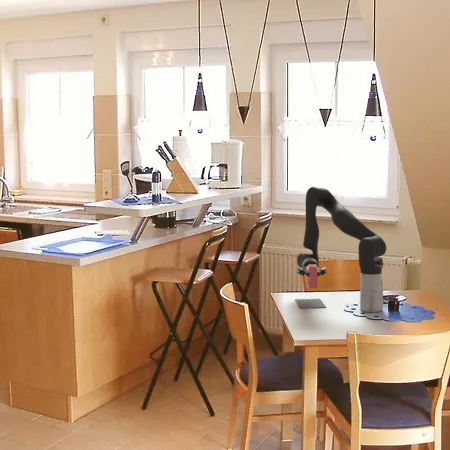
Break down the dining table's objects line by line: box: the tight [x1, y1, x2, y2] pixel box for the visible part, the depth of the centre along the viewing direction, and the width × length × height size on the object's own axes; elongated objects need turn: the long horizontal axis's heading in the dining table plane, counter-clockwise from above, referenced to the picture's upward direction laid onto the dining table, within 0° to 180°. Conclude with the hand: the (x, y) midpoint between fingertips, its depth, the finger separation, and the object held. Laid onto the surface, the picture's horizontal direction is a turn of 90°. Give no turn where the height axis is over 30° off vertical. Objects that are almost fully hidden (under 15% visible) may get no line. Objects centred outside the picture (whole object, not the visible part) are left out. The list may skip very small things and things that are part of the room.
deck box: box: [307, 264, 318, 289], centre depth 341 cm, size 6×4×10 cm, turn 178°
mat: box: [294, 298, 327, 309], centre depth 358 cm, size 16×12×1 cm
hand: (313, 274), depth 338 cm, fingers closed on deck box, 3 cm apart
